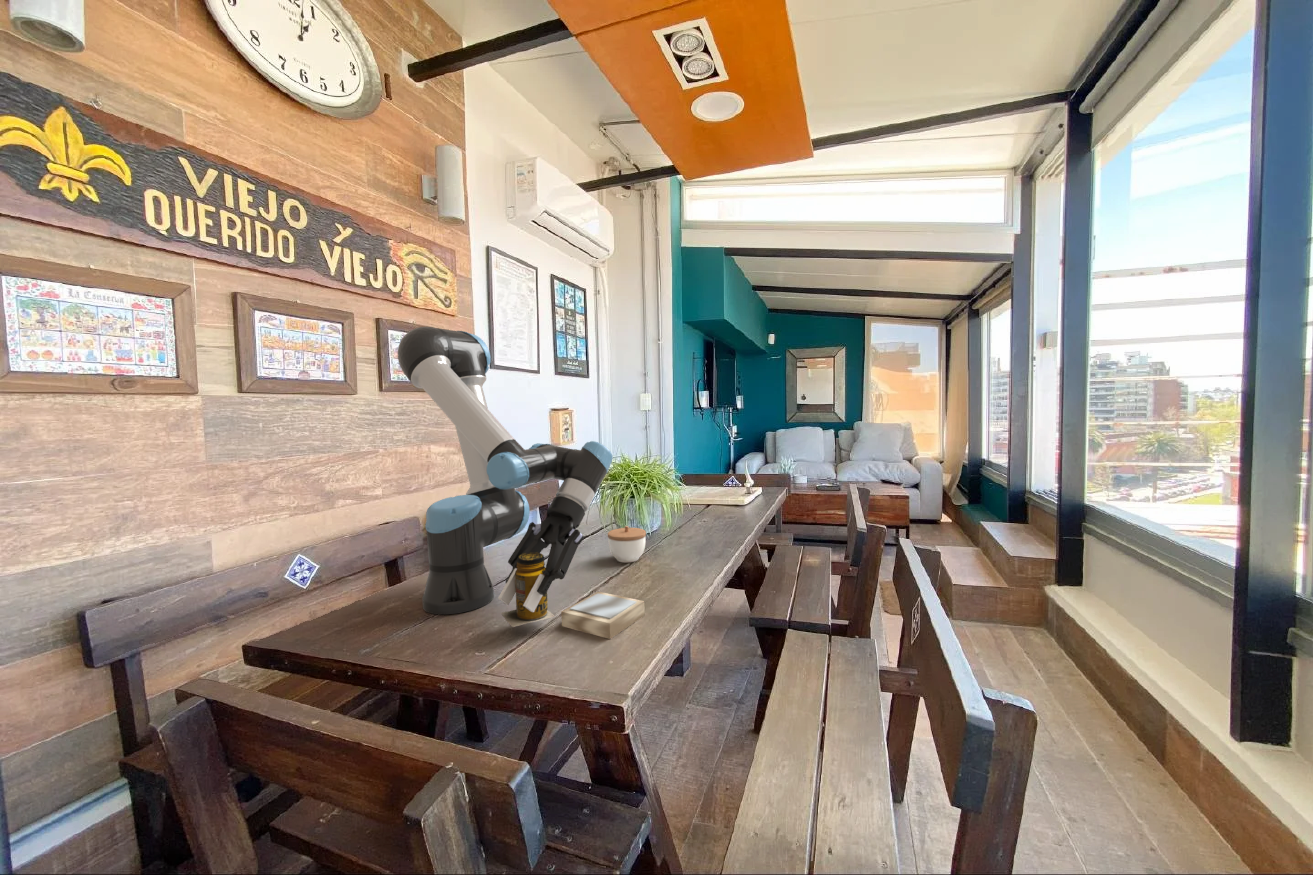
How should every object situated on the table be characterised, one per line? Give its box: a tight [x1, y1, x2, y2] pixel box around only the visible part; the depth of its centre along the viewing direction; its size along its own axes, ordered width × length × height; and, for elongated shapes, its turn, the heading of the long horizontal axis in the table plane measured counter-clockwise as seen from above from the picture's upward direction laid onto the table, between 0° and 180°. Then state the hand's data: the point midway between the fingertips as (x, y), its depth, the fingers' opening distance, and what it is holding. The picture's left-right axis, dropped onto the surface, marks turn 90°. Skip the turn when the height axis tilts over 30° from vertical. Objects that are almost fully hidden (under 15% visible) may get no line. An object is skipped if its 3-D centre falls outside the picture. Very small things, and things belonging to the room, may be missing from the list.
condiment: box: [500, 552, 555, 628], centre depth 101 cm, size 7×8×12 cm
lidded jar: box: [607, 525, 647, 564], centre depth 145 cm, size 11×11×9 cm
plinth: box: [560, 591, 646, 640], centre depth 104 cm, size 12×12×3 cm
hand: (515, 605), depth 98 cm, fingers closed on condiment, 6 cm apart
